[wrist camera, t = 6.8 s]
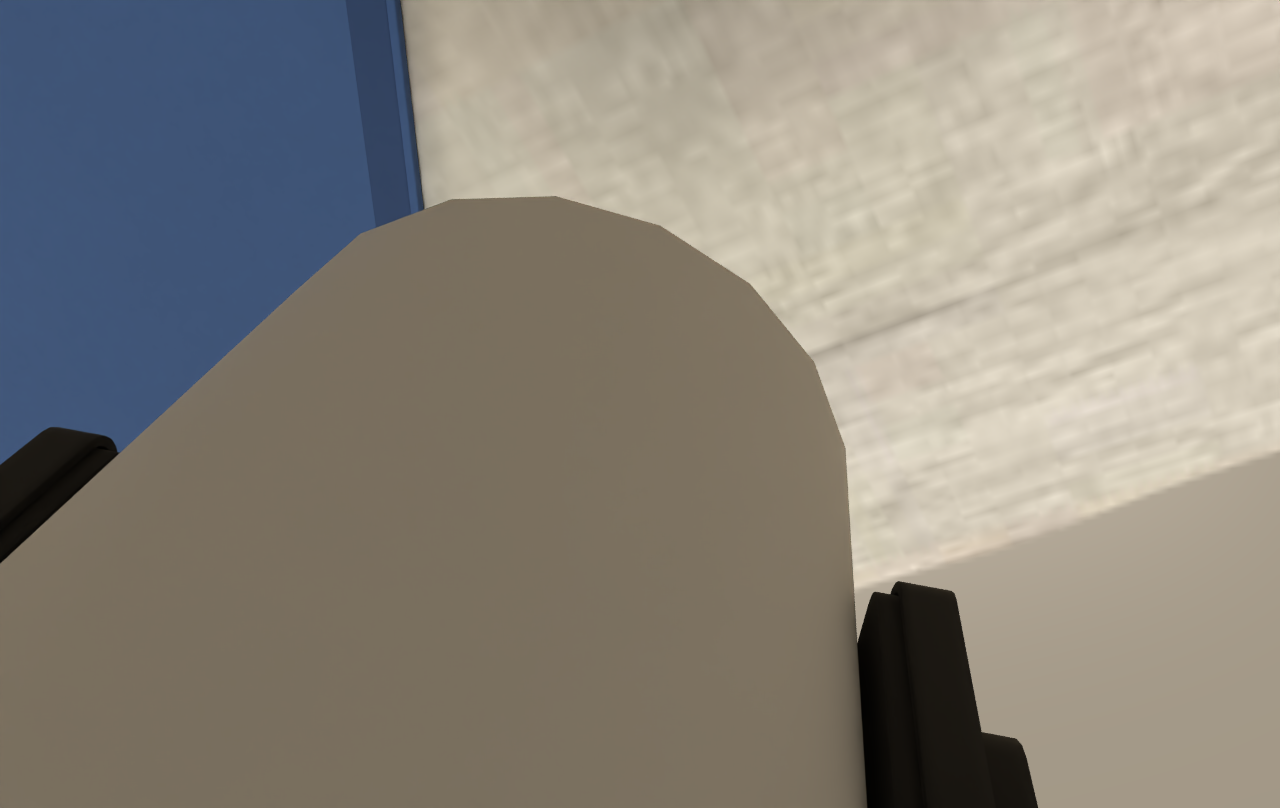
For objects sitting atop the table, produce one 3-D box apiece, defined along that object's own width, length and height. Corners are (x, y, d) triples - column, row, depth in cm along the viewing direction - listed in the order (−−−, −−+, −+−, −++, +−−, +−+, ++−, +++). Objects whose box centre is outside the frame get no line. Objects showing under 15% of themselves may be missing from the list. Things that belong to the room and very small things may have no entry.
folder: (-292, -231, 26) (-307, -232, 25) (372, -254, 24) (365, -256, 23) (-35, 504, 35) (-44, 512, 34) (460, 534, 33) (456, 542, 32)
